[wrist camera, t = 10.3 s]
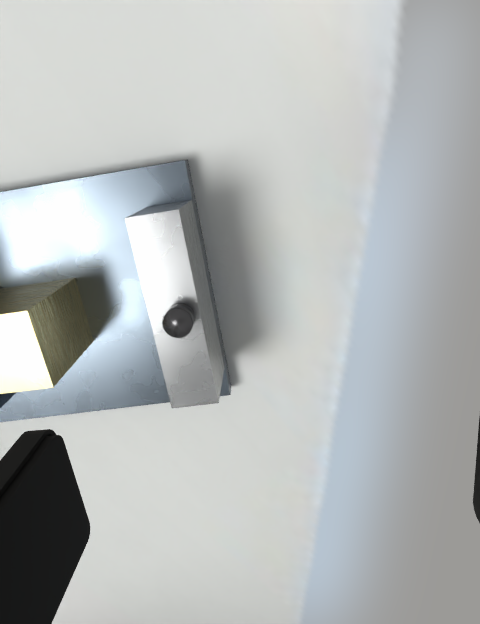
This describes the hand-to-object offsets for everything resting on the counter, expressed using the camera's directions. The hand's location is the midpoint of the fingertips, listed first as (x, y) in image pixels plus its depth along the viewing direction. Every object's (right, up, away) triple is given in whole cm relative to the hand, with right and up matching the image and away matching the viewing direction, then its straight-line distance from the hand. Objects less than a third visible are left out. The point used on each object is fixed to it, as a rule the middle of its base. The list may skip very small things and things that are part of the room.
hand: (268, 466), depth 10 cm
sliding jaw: (-4, +5, +15) cm, 16 cm away
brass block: (-12, +3, +16) cm, 21 cm away
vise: (-10, +4, +17) cm, 20 cm away
